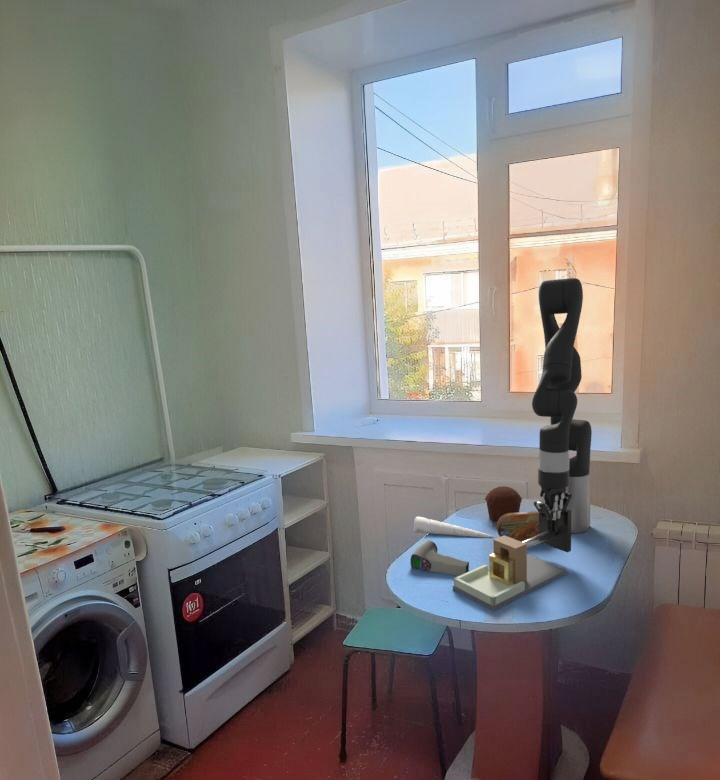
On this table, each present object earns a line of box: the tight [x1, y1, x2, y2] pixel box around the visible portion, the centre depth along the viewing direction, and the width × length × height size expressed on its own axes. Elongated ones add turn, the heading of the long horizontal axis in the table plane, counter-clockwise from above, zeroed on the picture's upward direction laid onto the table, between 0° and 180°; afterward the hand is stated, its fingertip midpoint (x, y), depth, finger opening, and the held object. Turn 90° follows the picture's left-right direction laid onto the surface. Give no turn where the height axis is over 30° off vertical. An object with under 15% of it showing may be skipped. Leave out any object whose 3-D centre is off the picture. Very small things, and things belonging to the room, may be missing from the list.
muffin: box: [484, 485, 523, 523], centre depth 190 cm, size 12×11×10 cm
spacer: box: [488, 552, 514, 586], centre depth 148 cm, size 2×6×6 cm, turn 36°
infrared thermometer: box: [409, 539, 470, 576], centre depth 162 cm, size 5×12×15 cm
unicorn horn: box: [413, 515, 494, 538], centre depth 180 cm, size 5×24×5 cm, turn 67°
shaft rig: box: [452, 535, 567, 612], centre depth 150 cm, size 28×13×11 cm, turn 126°
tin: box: [496, 510, 539, 542], centre depth 174 cm, size 15×3×8 cm, turn 92°
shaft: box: [506, 509, 572, 556], centre depth 154 cm, size 19×9×11 cm, turn 126°
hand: (552, 532), depth 154 cm, fingers closed
